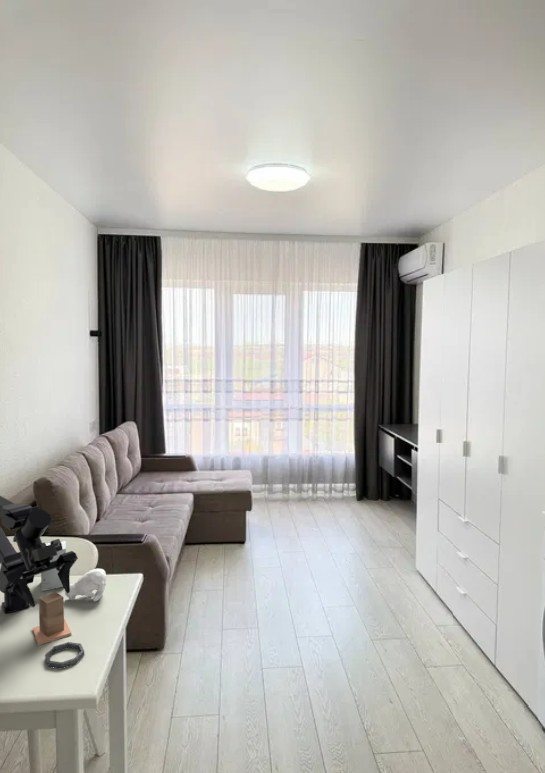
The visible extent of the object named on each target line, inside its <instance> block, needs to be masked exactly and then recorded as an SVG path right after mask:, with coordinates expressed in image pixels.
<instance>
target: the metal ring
mask: <svg viewBox="0 0 545 773" xmlns="http://www.w3.org/2000/svg"><path fill="white" fill-rule="evenodd" d="M66 648H67V649H71V648H72V649H73V650H78V651H79V653H78V654H76V656H74V657H73V658H70V659H67V660H64V661H55V660H51V657H52V656H54V654H55V653H57V652H60V651H63V650H66ZM84 656H85V649H84V647H83V645H82V643H80V642H79V643H78V642H73V641H70V642H69V641H67V642H64V643H61V644H58V645H54V646H52V648H50V650H49V651H48V652H47V653H45V656H44V660H45V662H46V665H47V668H52V669H59V668H62V669H65V668H68V667H71V666H75V665H77V664H76V663H77V662H78V661H79V662H80V661H81V659H82V658H83V657H84ZM79 662H78V663H79ZM70 665H71V666H70ZM67 666H68V667H67ZM53 667H54V668H53ZM64 667H65V668H64Z"/></svg>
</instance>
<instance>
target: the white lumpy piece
mask: <svg viewBox="0 0 545 773" xmlns="http://www.w3.org/2000/svg"><path fill="white" fill-rule="evenodd" d="M106 580H107V574H106V571H105V569H103V568H94V569H90V570H88V571H87V572H86V573H84V574H83V575H82V576H81V577H80V578H79V579H78V580H77V581H75V582H74V583H71V584H70V592H69V593H67V592H66V591H65V590H64V596H66V598H68V599H69V600H70V599H71V601H73V602H74V600H75V599H76V597H77V596H85V597H88V598H93V602H97V601H98V600H100V599H101V597H102V596H103V594H104V591H105V588H106V586H107V581H106ZM93 591H95V593H94V592H93Z"/></svg>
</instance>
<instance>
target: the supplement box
mask: <svg viewBox="0 0 545 773" xmlns="http://www.w3.org/2000/svg"><path fill="white" fill-rule="evenodd" d="M60 542H61V544H62V550H60V551H57V555H56V556H53V559H52V560H50V562H53V561H56V560H57V559H58V558H59V556H60V555H61V554H64V553H67V540H63V541H61V540H60ZM45 544H46V546H48V545H50V542H46V543H45ZM58 572H59V571H58V570H56V568H55V569H52V570H49V571H46V572H43V573H40V582H41V583H40V588H41V591H42V592H44V591H48V590H54V589H55V588H56V589H60V588H59V587H62V588H64V587H63V585H62V583H61V581H60V579H59V577H58Z"/></svg>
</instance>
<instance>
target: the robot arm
mask: <svg viewBox="0 0 545 773" xmlns="http://www.w3.org/2000/svg"><path fill="white" fill-rule="evenodd" d="M0 518H1V524H2V526H4V528H5V529H7V530H8V531H12V530H15V529H18V530H16V531H15V532H14V537H13V538H12V539H13V540H12V541H13V543H16V544H17V545H16V546H17V548H18V550H19V551H18V552H17V551H16V549H15V547H14V546H13V544H12V543H11V542H10V541H11V540H9V538H8V537H7V535H6V534H5V532H4V530H3V528H2V527H1V526H0V592H1V593H2V594H3V600H4V601H2V602H1V606H2V610H3V613H4V614H9V613H13V612H16V611H20V610H24V609H28V608H30V606H31V607H32V608H34V607H35V606H36V602H35V599H34V596H33V594H32V592H31V590H30V588H29V584H32V583H34V579H35V576H37V575H41V573H43V572H46V571H49V570H52V569H55V568H56V570H58V571H59V572H58V577H59V579H60V581H61V583H62V585H63V587H62V588H63V589H64V592H65V591H66V592H67V593H69V592H70V583H71V582H70V573H71V568H72V567H73V566H74V564H75V563H76V562H77V560H78V559H79V556H78V554H77V553H76V552H74V551H72V550H71V551H66V553H64V554H61V555H60V556H59V558H58V559H57V560H56V561H53V562H50V560H52V559H53V556H56V555H57V551H60V550H62V544H61V540H60V538H57V539H53V540H51V541H50V542H49V543H50V545H48V546H46V544H45V542H43V540H42V538H41V536H42V535H43V534H44V533H45V531H46V530H47V528H48V527H49V525H50V524H51V522H52V517H51V514H50V513H48V512H47V511H46V510H43V509H41V508H40V506H38V505H36V506H33V507H32V505H30V504H27V503H14V502H12V501H11V500H9V499H7V498H6V497H4V496H1V495H0Z"/></svg>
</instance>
